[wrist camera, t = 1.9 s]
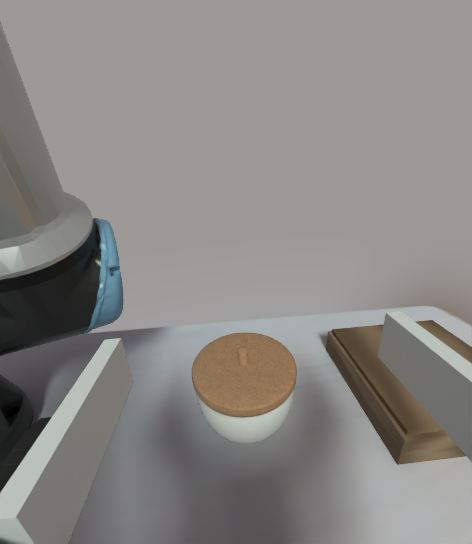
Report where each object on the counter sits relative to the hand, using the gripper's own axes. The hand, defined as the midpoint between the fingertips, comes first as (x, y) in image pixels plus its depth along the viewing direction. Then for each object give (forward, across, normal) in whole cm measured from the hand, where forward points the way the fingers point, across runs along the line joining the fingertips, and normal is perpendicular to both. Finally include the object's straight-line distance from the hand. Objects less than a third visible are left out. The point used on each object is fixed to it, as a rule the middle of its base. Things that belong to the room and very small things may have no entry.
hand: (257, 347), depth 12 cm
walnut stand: (+12, +21, -18) cm, 30 cm away
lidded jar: (+10, 0, -18) cm, 21 cm away
